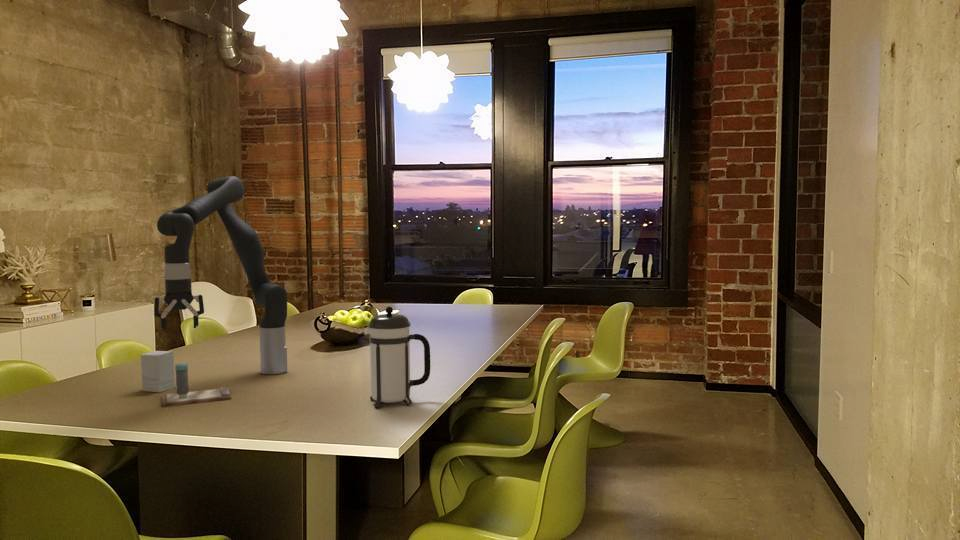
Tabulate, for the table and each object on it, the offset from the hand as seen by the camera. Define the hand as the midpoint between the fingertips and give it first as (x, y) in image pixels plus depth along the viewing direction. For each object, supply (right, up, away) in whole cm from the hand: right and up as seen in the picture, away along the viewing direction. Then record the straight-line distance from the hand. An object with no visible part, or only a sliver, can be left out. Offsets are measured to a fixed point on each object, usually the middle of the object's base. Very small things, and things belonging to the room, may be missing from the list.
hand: (180, 328), depth 213 cm
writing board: (+3, -23, +5) cm, 23 cm away
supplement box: (-15, -22, +17) cm, 31 cm away
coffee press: (+68, -23, -2) cm, 72 cm away
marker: (0, -22, +2) cm, 22 cm away
